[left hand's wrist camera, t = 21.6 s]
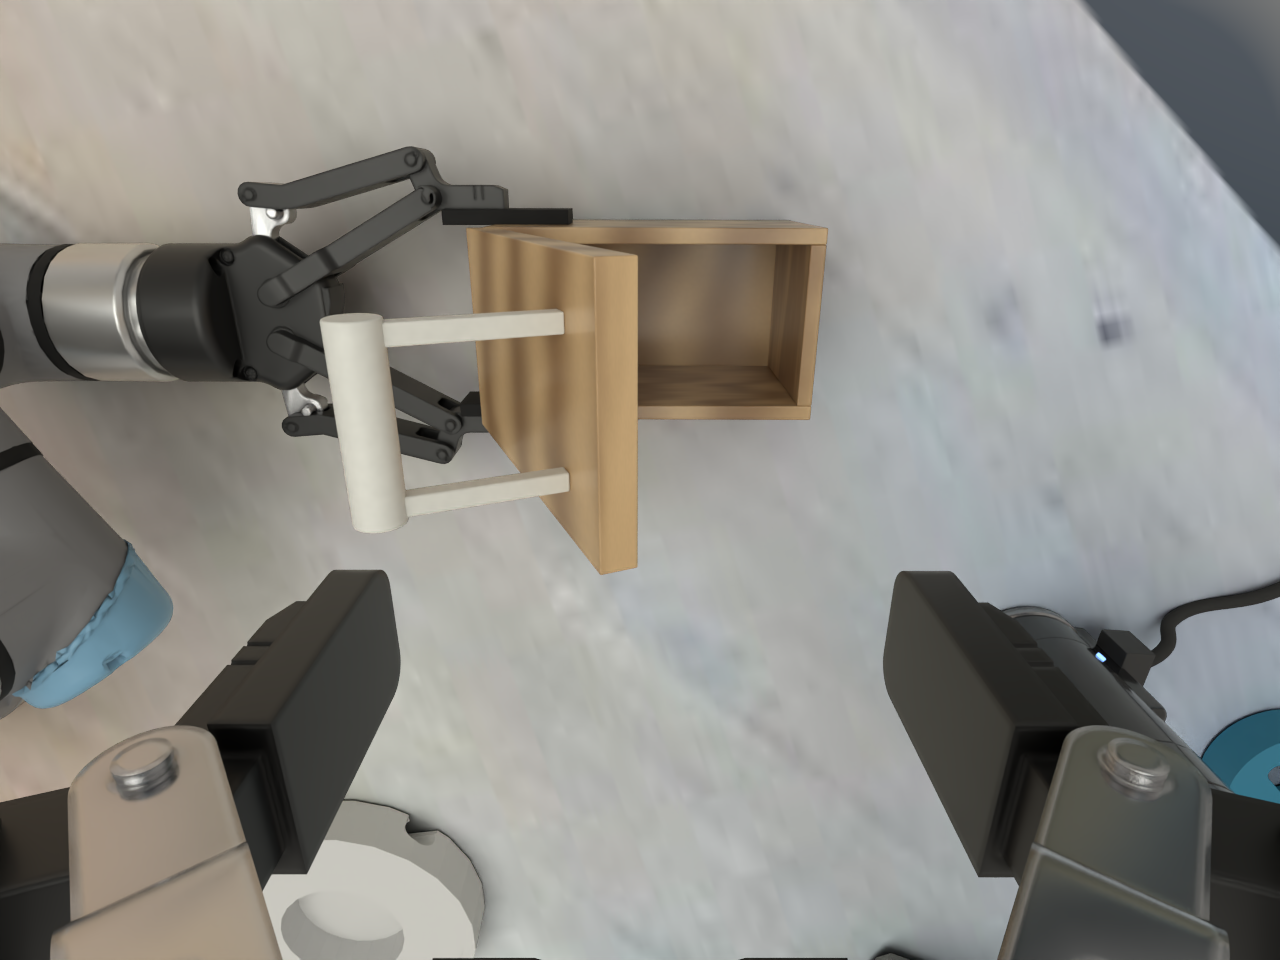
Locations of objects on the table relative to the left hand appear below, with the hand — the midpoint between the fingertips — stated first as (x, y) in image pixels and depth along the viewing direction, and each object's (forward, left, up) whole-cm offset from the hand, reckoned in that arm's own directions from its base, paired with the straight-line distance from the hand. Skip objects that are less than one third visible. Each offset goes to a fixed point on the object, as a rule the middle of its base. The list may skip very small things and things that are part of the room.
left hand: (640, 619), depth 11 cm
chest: (-1, 0, -37) cm, 37 cm away
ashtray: (+22, +55, -37) cm, 70 cm away
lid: (+4, 0, -18) cm, 19 cm away
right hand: (+4, 0, -31) cm, 31 cm away
